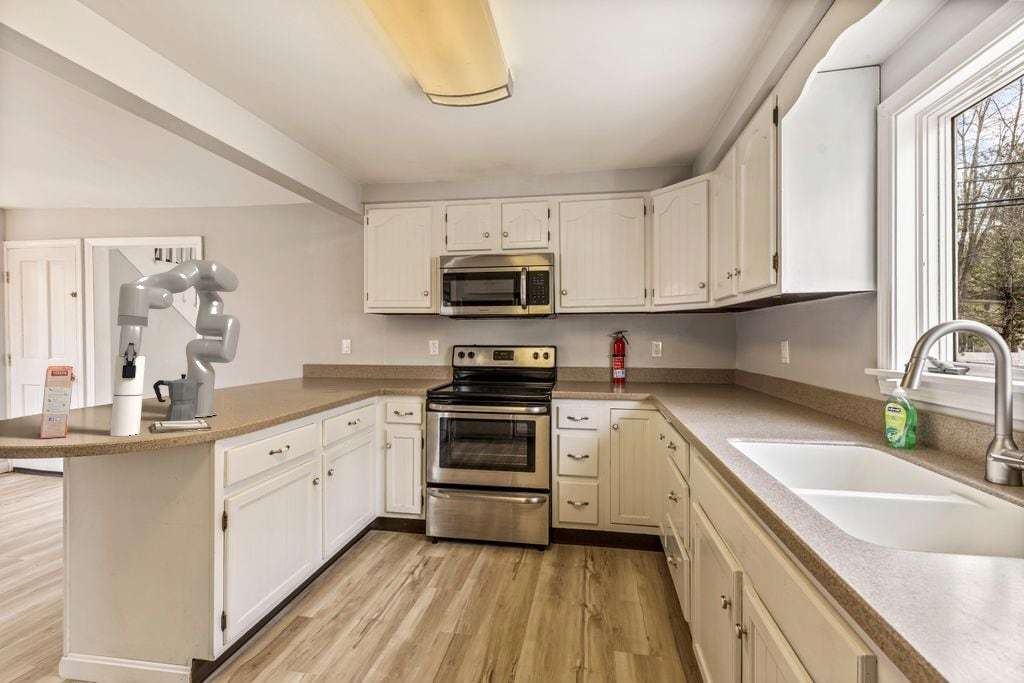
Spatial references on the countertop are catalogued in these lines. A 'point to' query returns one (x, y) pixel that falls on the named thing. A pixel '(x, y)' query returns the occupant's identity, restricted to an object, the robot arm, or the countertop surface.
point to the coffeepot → (179, 397)
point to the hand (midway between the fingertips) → (128, 376)
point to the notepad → (179, 425)
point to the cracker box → (56, 401)
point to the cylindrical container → (127, 399)
